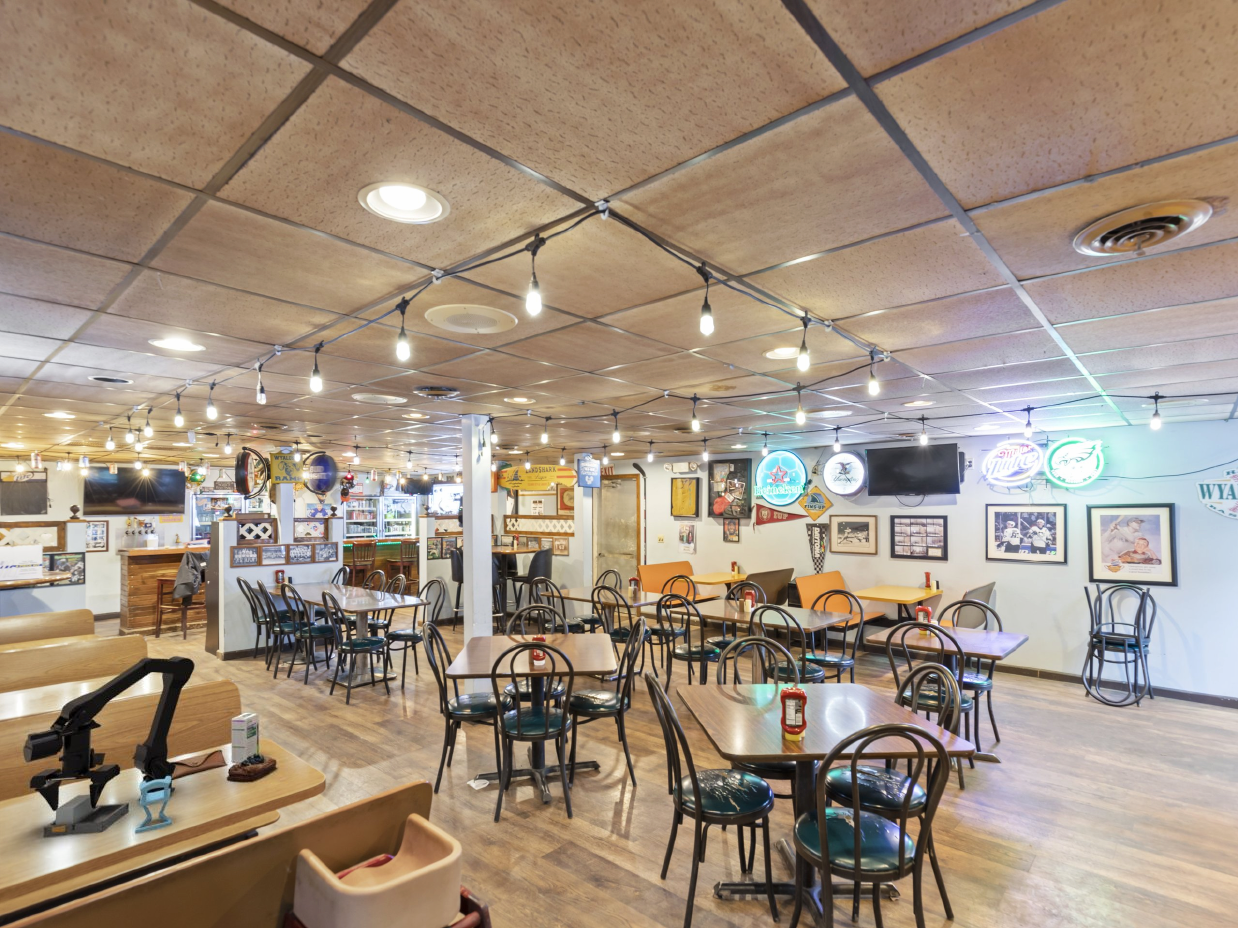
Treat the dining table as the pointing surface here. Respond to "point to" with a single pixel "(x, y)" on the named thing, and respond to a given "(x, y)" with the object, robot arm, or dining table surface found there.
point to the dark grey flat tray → (90, 821)
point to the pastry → (251, 769)
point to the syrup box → (245, 736)
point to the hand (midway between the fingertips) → (74, 808)
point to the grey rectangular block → (73, 810)
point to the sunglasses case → (198, 764)
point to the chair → (153, 798)
